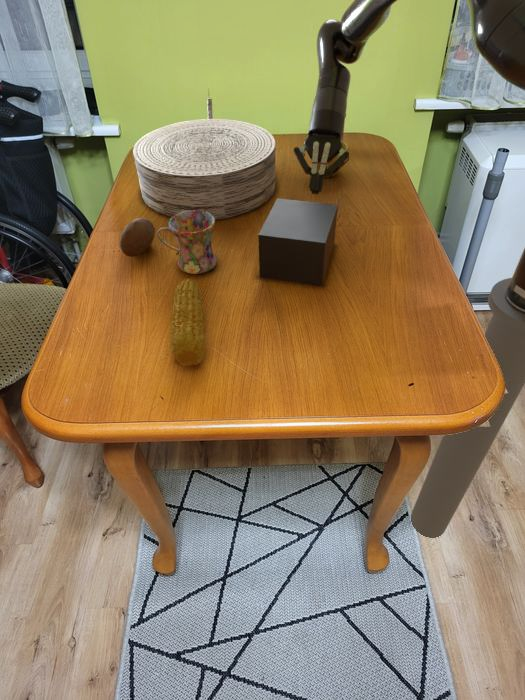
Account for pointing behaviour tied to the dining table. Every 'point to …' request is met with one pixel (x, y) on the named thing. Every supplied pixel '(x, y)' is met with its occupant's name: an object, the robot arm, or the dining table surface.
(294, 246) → the dark grey cube
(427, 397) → the dining table surface
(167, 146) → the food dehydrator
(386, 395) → the dining table surface
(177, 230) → the mug
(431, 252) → the dining table surface
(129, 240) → the potato
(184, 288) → the food
